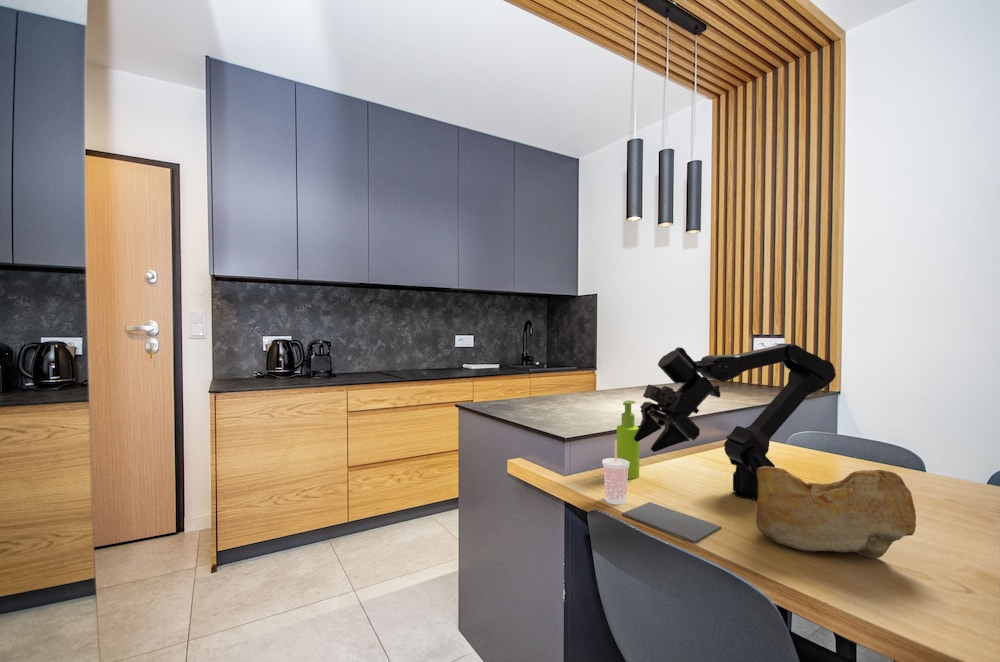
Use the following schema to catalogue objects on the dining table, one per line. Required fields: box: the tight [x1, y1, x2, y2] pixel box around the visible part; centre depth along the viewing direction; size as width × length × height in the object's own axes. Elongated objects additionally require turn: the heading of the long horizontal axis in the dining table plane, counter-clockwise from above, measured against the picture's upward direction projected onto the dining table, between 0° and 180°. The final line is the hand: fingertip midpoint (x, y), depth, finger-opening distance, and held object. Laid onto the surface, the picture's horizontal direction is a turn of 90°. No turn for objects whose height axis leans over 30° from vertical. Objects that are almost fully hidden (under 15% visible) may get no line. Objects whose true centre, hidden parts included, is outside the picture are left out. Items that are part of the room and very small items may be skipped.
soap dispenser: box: [616, 400, 640, 480], centre depth 120 cm, size 6×7×20 cm
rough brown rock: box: [755, 466, 917, 559], centre depth 83 cm, size 23×17×15 cm
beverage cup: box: [601, 439, 630, 505], centre depth 102 cm, size 6×6×14 cm
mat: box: [622, 501, 722, 544], centre depth 91 cm, size 16×10×1 cm, turn 38°
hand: (643, 445), depth 103 cm, fingers open, 9 cm apart
